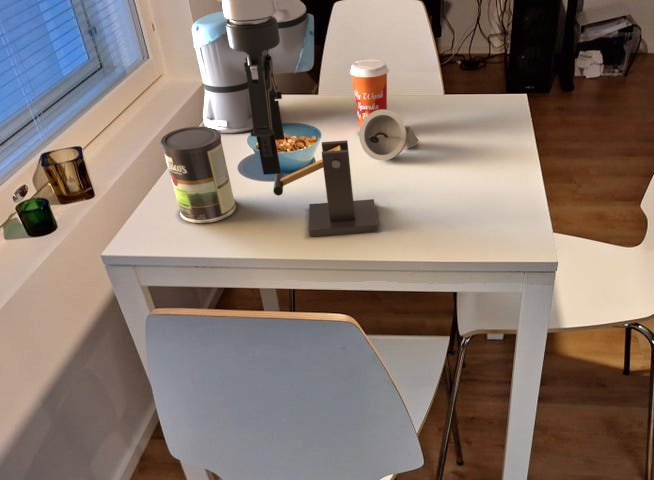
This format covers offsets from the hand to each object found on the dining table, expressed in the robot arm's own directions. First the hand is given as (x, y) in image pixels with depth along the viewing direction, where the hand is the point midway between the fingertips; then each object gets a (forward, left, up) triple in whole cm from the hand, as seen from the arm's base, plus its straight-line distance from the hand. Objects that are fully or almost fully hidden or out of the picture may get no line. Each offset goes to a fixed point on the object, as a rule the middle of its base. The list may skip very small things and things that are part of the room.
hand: (274, 155), depth 112 cm
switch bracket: (0, +10, -13) cm, 16 cm away
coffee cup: (-40, +18, -13) cm, 46 cm away
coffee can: (-8, -15, -13) cm, 21 cm away
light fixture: (-27, +20, -13) cm, 36 cm away
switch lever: (0, +6, -4) cm, 7 cm away
